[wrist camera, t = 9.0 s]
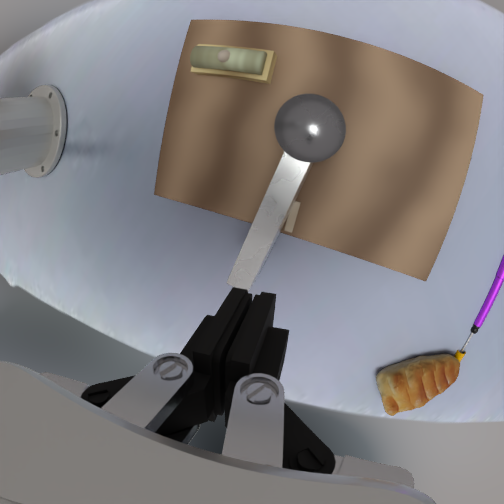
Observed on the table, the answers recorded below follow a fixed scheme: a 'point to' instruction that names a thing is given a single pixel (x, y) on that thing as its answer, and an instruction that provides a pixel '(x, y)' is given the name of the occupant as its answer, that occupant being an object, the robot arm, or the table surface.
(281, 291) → the table surface
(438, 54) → the table surface
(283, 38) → the brown wooden board
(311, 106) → the ball-ended lever
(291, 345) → the table surface
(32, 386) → the robot arm
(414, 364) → the pastry
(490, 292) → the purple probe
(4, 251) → the table surface
